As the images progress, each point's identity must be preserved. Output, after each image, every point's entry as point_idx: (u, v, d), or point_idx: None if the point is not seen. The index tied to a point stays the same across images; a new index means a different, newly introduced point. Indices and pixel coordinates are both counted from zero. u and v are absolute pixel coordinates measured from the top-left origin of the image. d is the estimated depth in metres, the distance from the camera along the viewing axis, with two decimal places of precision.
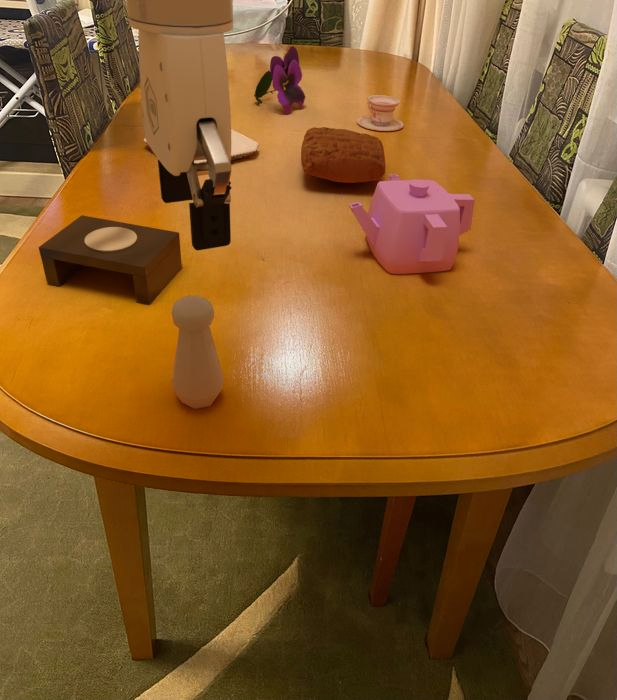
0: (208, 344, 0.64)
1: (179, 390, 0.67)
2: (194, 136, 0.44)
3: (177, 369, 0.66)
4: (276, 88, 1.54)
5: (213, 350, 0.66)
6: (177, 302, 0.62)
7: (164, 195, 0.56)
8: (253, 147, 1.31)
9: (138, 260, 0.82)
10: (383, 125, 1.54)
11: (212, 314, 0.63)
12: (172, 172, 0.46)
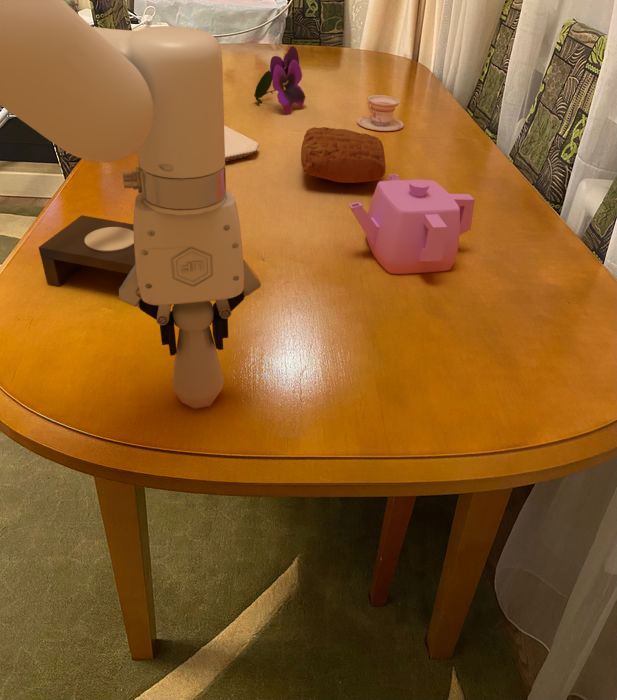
0: (208, 343, 0.64)
1: (179, 390, 0.67)
2: None
3: (177, 369, 0.66)
4: (276, 88, 1.54)
5: (213, 350, 0.66)
6: None
7: (175, 349, 0.63)
8: (253, 147, 1.31)
9: None
10: (383, 125, 1.54)
11: (212, 313, 0.63)
12: (237, 294, 0.60)
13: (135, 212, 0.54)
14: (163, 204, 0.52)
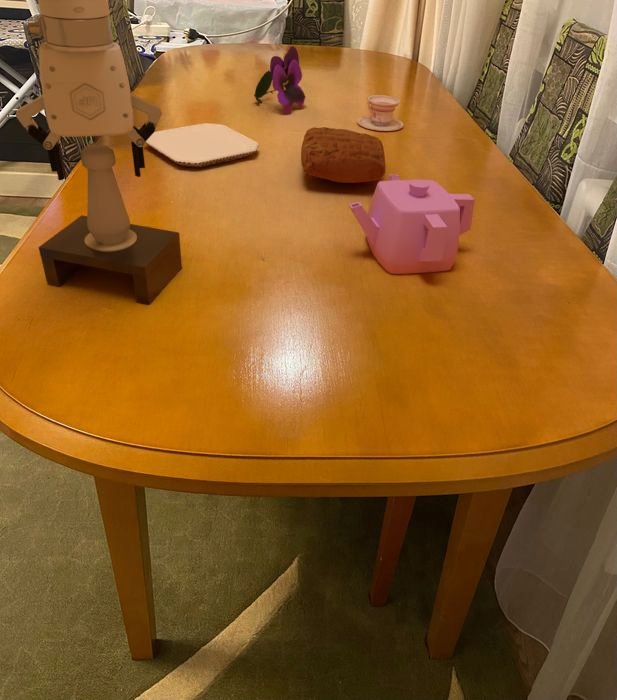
0: (112, 185, 0.81)
1: (91, 226, 0.83)
2: (131, 103, 0.75)
3: (88, 207, 0.82)
4: (276, 88, 1.54)
5: (117, 192, 0.82)
6: (85, 147, 0.79)
7: (62, 174, 0.78)
8: (253, 147, 1.31)
9: (138, 260, 0.82)
10: (383, 125, 1.54)
11: (113, 157, 0.79)
12: (128, 131, 0.76)
13: (39, 52, 0.69)
14: (58, 42, 0.68)
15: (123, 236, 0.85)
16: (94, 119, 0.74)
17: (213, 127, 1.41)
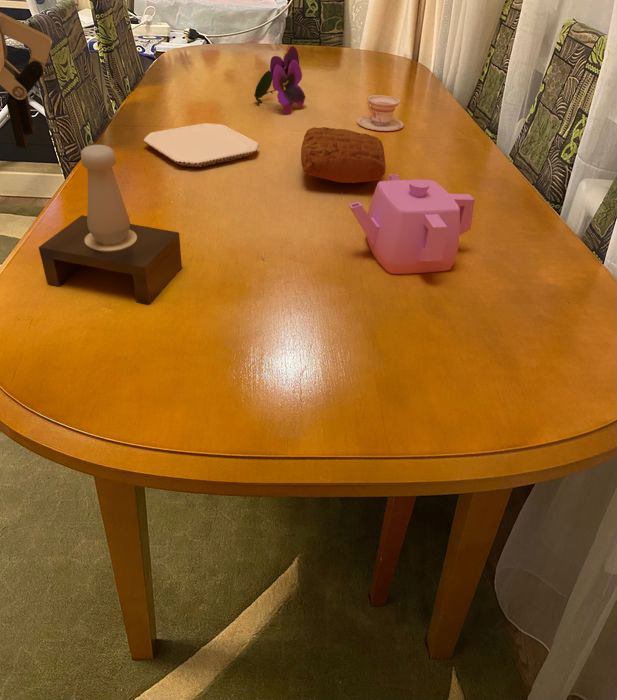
0: (112, 185, 0.81)
1: (91, 226, 0.83)
2: None
3: (88, 207, 0.82)
4: (276, 88, 1.54)
5: (117, 192, 0.82)
6: (85, 147, 0.79)
7: None
8: (253, 147, 1.31)
9: (138, 260, 0.82)
10: (383, 125, 1.54)
11: (113, 157, 0.79)
12: None
13: None
14: None
15: (123, 236, 0.85)
16: None
17: (213, 127, 1.41)
